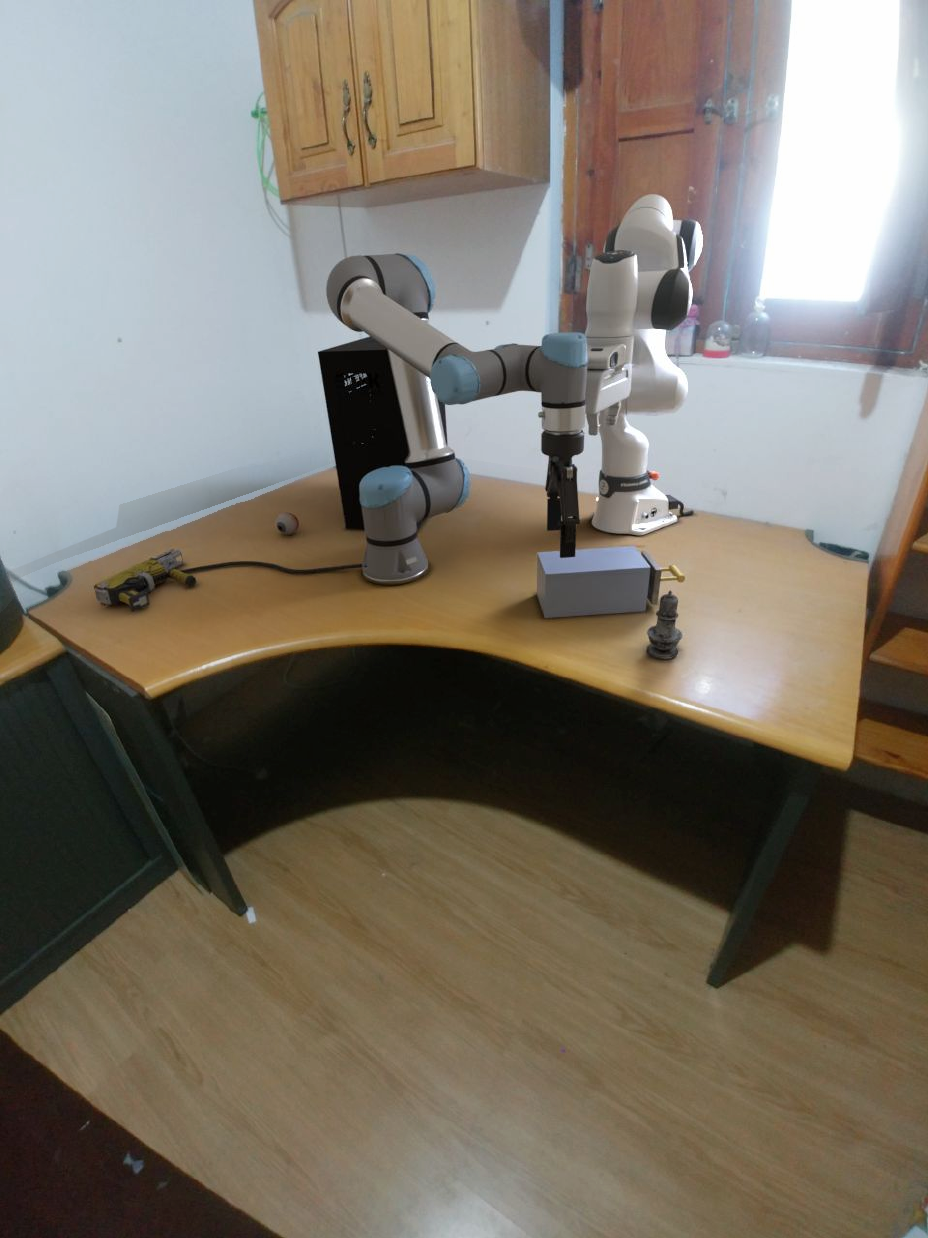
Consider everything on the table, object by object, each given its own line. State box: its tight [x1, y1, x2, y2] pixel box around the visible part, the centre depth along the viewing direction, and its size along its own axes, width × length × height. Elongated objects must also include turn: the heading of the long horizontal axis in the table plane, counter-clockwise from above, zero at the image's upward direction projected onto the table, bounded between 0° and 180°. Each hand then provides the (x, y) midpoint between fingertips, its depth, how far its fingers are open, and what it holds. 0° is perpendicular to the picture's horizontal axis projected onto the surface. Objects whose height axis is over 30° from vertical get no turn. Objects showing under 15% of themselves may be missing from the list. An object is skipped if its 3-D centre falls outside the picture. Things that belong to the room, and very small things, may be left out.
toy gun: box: [93, 548, 197, 612], centre depth 139 cm, size 5×24×15 cm
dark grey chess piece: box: [646, 589, 683, 660], centre depth 104 cm, size 6×6×12 cm
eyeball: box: [275, 511, 300, 536], centre depth 163 cm, size 6×6×6 cm
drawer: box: [640, 550, 686, 606], centre depth 121 cm, size 24×9×8 cm, turn 93°
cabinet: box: [536, 545, 650, 619], centre depth 121 cm, size 20×10×10 cm, turn 93°
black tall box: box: [317, 336, 449, 530], centre depth 169 cm, size 38×20×45 cm, turn 167°
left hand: (560, 542), depth 116 cm, fingers open, 13 cm apart
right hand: (603, 429), depth 118 cm, fingers open, 8 cm apart
